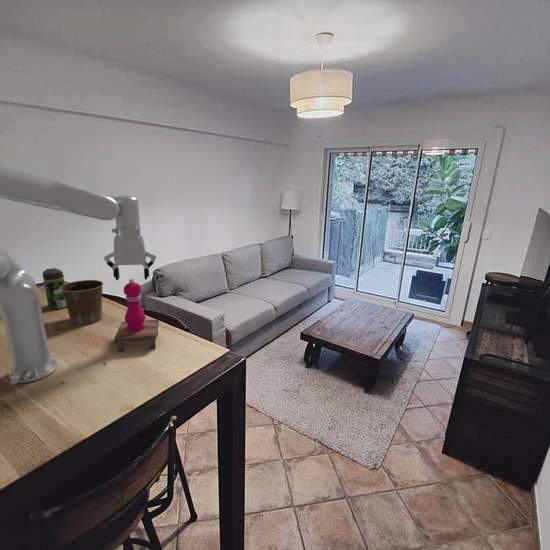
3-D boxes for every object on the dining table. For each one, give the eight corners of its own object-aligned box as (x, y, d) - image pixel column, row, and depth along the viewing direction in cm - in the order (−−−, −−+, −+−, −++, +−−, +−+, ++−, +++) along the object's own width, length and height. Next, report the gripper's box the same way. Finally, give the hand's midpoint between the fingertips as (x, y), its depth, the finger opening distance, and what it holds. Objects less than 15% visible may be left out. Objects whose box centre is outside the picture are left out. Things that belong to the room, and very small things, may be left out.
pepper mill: (149, 325, 126) (145, 276, 120) (140, 333, 119) (135, 282, 113) (132, 323, 126) (127, 275, 121) (122, 332, 120) (116, 281, 114)
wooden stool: (156, 349, 120) (155, 335, 118) (115, 353, 116) (114, 338, 115) (159, 332, 133) (158, 319, 131) (123, 335, 129) (121, 322, 128)
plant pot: (69, 314, 147) (64, 280, 142) (109, 310, 152) (105, 278, 148) (61, 329, 132) (55, 293, 128) (105, 325, 138) (100, 289, 133)
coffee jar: (46, 305, 155) (40, 268, 150) (65, 301, 160) (60, 266, 155) (50, 311, 149) (43, 273, 143) (70, 307, 154) (64, 270, 148)
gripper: (98, 233, 106) (103, 282, 111) (153, 234, 111) (156, 281, 116) (103, 230, 113) (108, 276, 118) (155, 231, 118) (158, 275, 123)
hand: (132, 278), depth 117 cm, fingers open, 9 cm apart
